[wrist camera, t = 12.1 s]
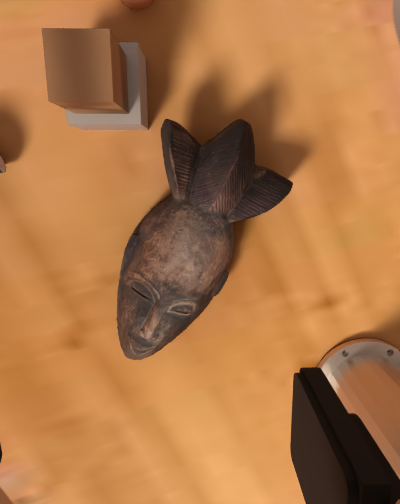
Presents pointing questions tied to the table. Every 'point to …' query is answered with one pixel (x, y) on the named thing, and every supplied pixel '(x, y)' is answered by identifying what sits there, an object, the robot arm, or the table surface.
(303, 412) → the robot arm
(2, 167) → the headphones
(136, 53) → the grey block
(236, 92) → the table surface
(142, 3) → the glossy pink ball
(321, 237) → the table surface
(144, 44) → the table surface
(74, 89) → the brown metal block
